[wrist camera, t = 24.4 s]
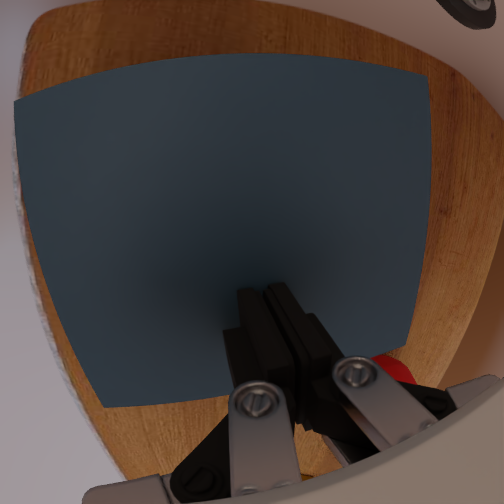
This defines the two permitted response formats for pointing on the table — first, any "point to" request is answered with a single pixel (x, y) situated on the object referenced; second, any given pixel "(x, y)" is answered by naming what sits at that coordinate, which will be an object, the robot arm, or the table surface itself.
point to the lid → (224, 208)
